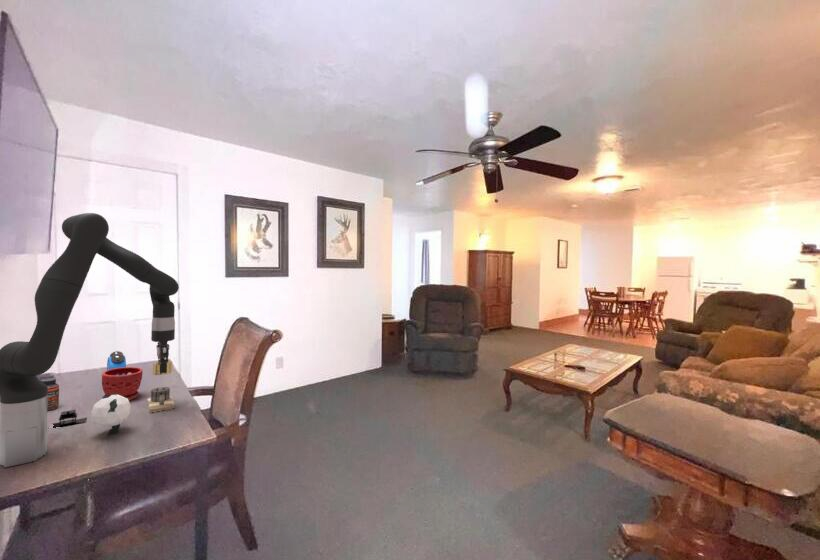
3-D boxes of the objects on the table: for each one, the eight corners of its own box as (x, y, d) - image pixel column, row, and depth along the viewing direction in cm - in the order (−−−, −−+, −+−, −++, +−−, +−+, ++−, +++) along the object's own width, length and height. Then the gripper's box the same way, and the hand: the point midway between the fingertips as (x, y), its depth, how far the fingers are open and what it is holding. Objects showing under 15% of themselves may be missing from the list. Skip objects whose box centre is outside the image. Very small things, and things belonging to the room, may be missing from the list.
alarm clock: (106, 382, 166) (107, 350, 166) (123, 380, 170) (124, 349, 170) (108, 390, 157) (109, 356, 156) (126, 387, 161) (127, 354, 161)
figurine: (92, 426, 122) (93, 388, 122) (131, 419, 128) (131, 383, 128) (87, 448, 108) (87, 404, 108) (130, 439, 114) (131, 398, 114)
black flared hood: (41, 433, 117) (41, 419, 117) (44, 425, 122) (44, 412, 122) (91, 424, 125) (91, 411, 125) (92, 417, 131) (92, 404, 130)
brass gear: (172, 373, 139) (173, 363, 139) (153, 376, 135) (153, 365, 135) (171, 369, 144) (171, 360, 144) (152, 372, 140) (152, 361, 140)
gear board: (174, 408, 139) (175, 393, 139) (149, 413, 134) (149, 397, 134) (170, 398, 150) (171, 384, 150) (147, 401, 145) (147, 387, 145)
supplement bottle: (44, 412, 131) (44, 382, 131) (31, 411, 132) (32, 381, 132) (62, 407, 137) (63, 377, 137) (51, 405, 138) (51, 376, 138)
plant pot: (99, 407, 138) (100, 377, 138) (103, 397, 149) (103, 368, 148) (141, 401, 146) (142, 372, 145) (142, 391, 156) (142, 364, 156)
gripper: (177, 330, 136) (176, 373, 136) (172, 325, 147) (171, 365, 147) (152, 332, 131) (151, 376, 131) (150, 326, 142) (149, 367, 142)
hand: (162, 370), depth 139 cm, fingers closed on brass gear, 6 cm apart
